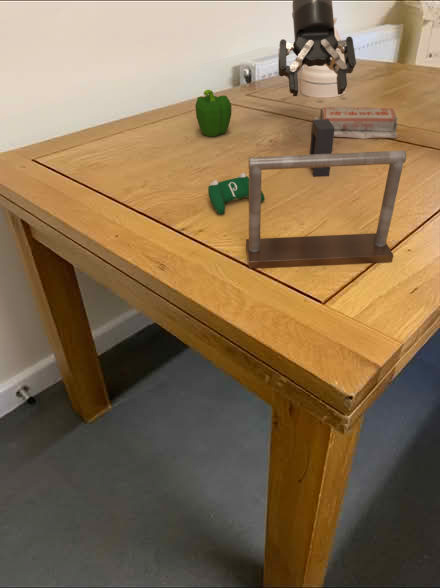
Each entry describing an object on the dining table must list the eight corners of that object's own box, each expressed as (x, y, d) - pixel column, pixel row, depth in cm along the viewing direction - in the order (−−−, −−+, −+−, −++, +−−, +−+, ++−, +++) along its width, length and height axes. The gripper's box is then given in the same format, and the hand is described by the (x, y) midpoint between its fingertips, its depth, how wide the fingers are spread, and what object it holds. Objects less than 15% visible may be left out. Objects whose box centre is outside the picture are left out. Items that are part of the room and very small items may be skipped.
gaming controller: (258, 207, 83) (246, 176, 83) (267, 199, 79) (254, 167, 80) (213, 220, 80) (200, 188, 80) (219, 212, 76) (206, 179, 77)
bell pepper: (217, 124, 114) (215, 81, 108) (238, 133, 108) (237, 88, 102) (188, 132, 110) (185, 87, 104) (209, 142, 105) (206, 95, 98)
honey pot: (308, 84, 141) (313, 15, 129) (350, 87, 136) (360, 16, 125) (294, 95, 132) (298, 22, 120) (339, 99, 127) (348, 23, 116)
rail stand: (379, 239, 70) (399, 142, 61) (392, 262, 65) (415, 159, 56) (245, 245, 70) (245, 149, 61) (248, 268, 65) (249, 167, 56)
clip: (308, 165, 92) (312, 119, 87) (323, 165, 92) (328, 118, 87) (313, 176, 88) (317, 128, 83) (329, 176, 88) (334, 128, 83)
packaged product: (395, 103, 106) (401, 117, 99) (391, 125, 109) (396, 140, 102) (315, 102, 109) (314, 116, 101) (313, 123, 112) (312, 138, 104)
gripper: (278, 1, 86) (283, 83, 84) (355, -3, 86) (362, 80, 84) (273, 29, 93) (278, 105, 91) (344, 26, 93) (351, 102, 91)
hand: (318, 93), depth 88 cm, fingers open, 8 cm apart
